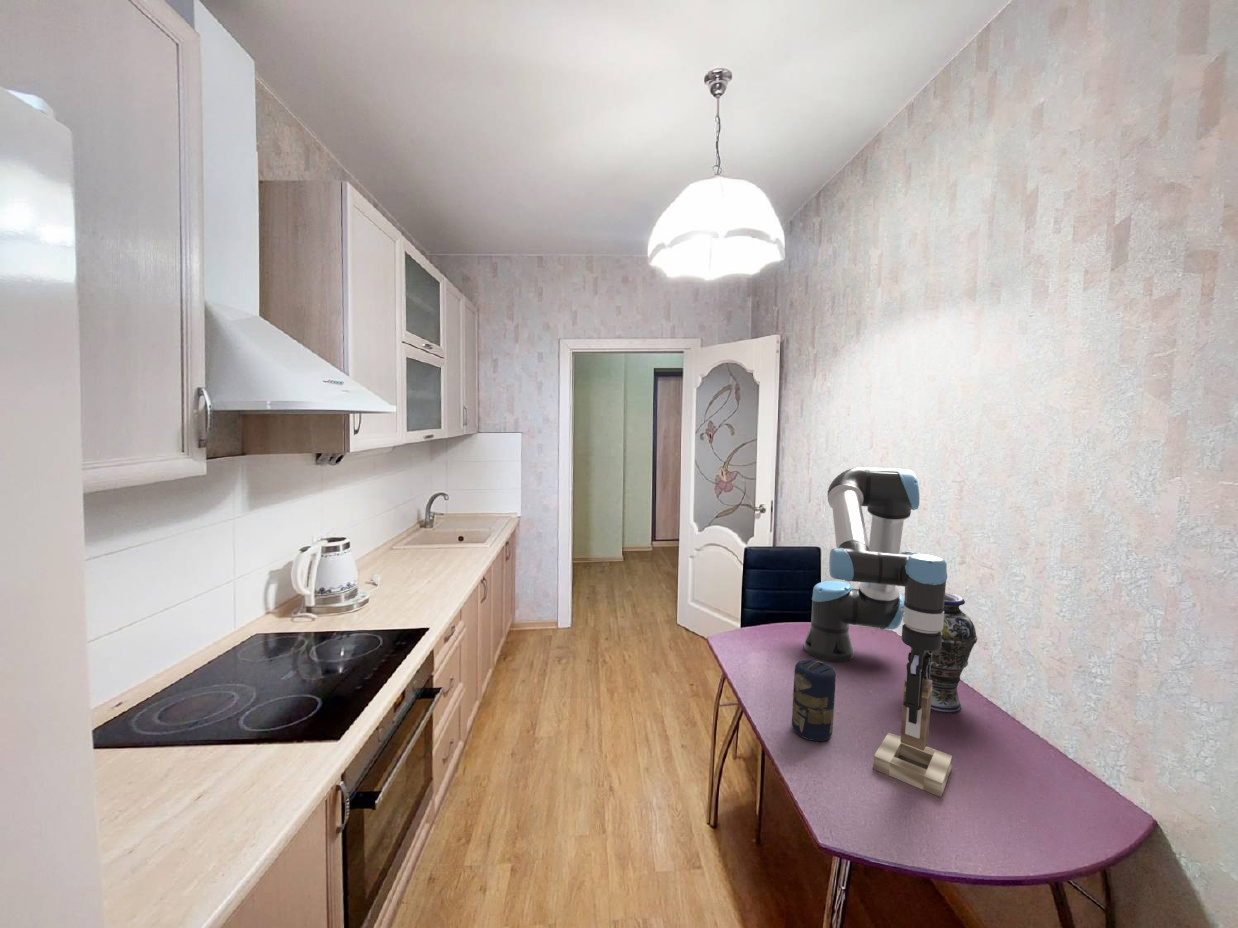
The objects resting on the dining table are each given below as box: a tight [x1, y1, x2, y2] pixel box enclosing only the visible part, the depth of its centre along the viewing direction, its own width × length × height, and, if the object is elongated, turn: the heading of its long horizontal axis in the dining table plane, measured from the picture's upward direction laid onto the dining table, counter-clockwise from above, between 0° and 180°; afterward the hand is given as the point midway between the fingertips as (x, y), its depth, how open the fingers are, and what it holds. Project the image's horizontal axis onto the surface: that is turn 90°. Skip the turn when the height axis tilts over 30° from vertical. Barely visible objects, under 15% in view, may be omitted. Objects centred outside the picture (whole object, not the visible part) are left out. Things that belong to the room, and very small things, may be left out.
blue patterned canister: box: [791, 658, 837, 742], centre depth 128 cm, size 10×10×18 cm
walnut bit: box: [900, 677, 932, 751], centre depth 115 cm, size 5×5×14 cm
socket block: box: [872, 732, 953, 798], centre depth 116 cm, size 12×13×3 cm
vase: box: [910, 591, 978, 714], centre depth 143 cm, size 17×17×30 cm
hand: (915, 729), depth 115 cm, fingers closed on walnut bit, 4 cm apart
